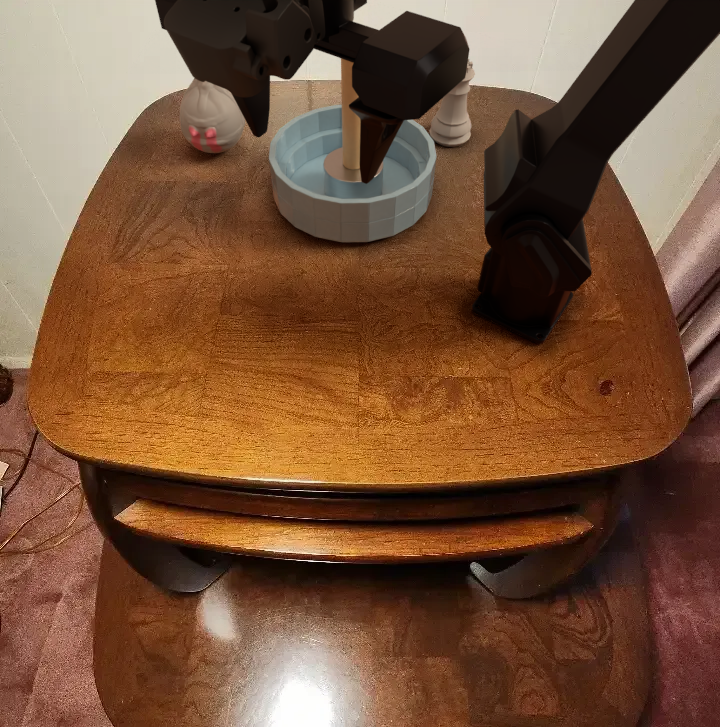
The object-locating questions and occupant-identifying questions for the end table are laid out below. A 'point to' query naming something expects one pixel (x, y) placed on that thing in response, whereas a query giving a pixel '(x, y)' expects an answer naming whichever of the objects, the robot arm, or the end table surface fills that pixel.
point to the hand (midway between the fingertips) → (312, 156)
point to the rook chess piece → (453, 115)
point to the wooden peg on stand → (349, 152)
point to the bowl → (349, 216)
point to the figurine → (210, 117)
